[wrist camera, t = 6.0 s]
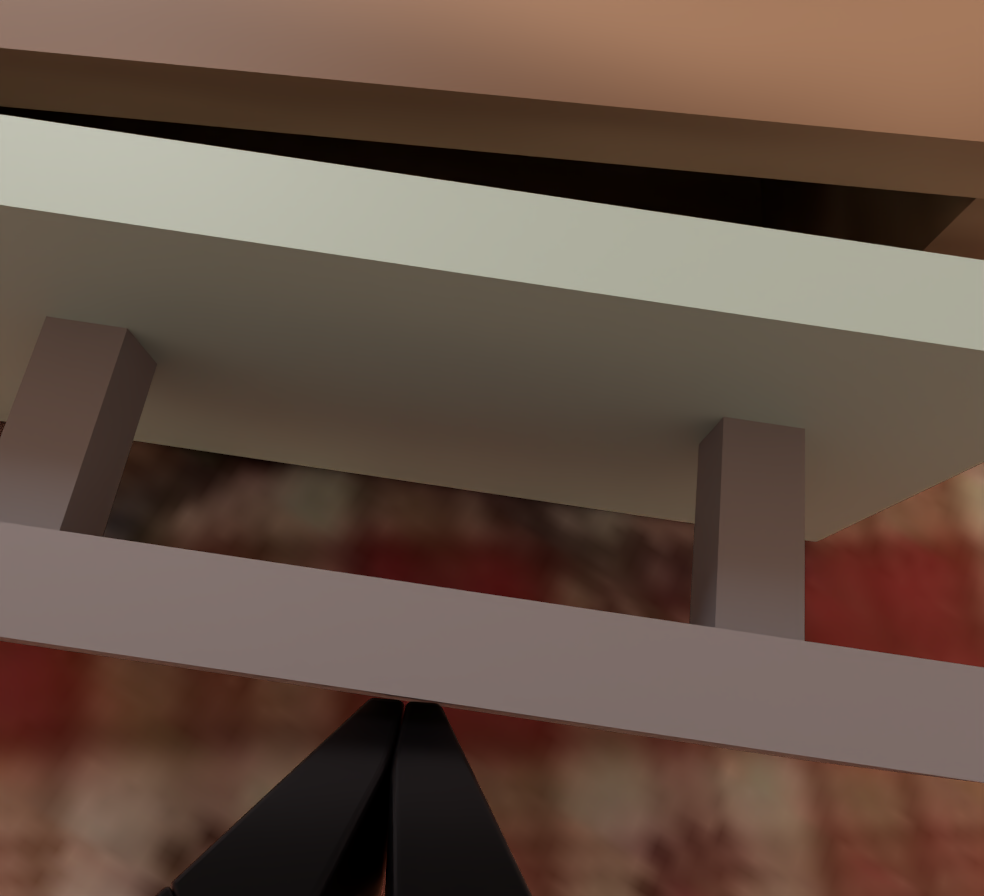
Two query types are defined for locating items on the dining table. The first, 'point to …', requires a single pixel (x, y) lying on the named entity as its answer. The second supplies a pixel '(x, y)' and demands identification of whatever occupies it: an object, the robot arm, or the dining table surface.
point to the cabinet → (555, 98)
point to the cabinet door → (477, 431)
